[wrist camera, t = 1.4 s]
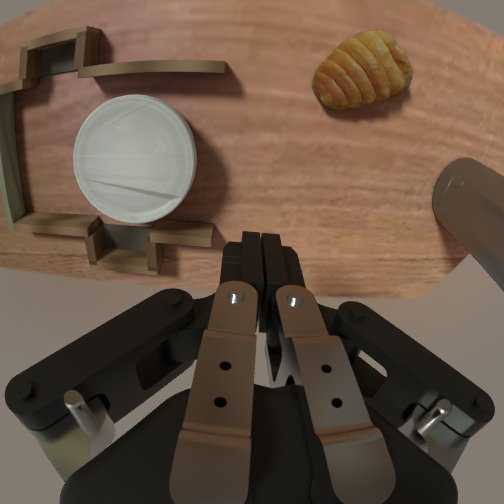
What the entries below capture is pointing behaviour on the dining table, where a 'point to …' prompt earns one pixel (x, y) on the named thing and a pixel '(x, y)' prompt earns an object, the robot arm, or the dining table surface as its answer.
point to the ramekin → (135, 158)
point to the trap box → (96, 235)
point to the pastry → (363, 72)
